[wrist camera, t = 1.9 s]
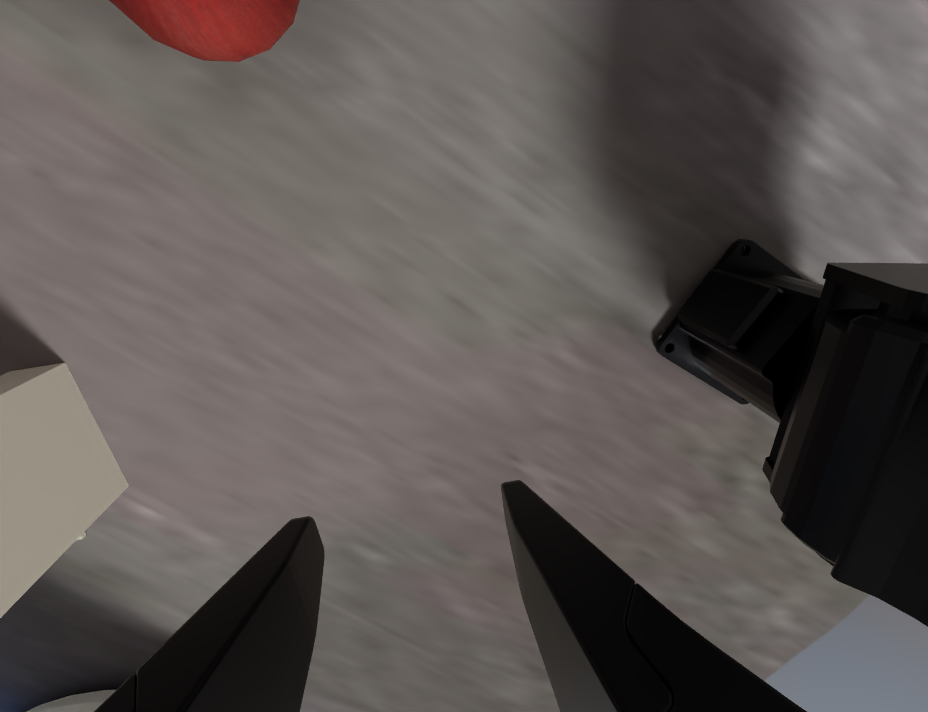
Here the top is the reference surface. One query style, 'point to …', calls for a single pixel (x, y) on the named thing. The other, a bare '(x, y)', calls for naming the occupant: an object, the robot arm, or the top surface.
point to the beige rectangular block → (47, 474)
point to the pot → (75, 702)
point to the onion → (213, 25)
